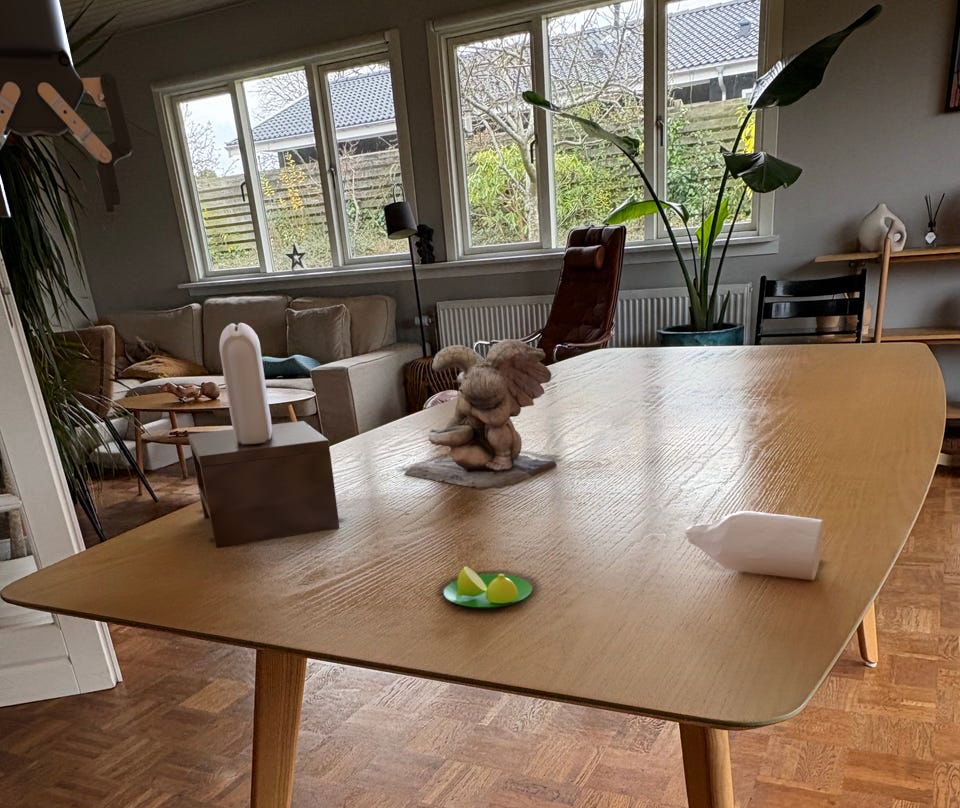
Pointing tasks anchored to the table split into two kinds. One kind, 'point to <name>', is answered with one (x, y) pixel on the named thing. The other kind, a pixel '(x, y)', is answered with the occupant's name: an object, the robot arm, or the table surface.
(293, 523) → the box
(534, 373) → the cherub figurine
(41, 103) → the robot arm
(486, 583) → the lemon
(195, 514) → the table surface
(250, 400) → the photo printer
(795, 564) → the white plastic bottle
